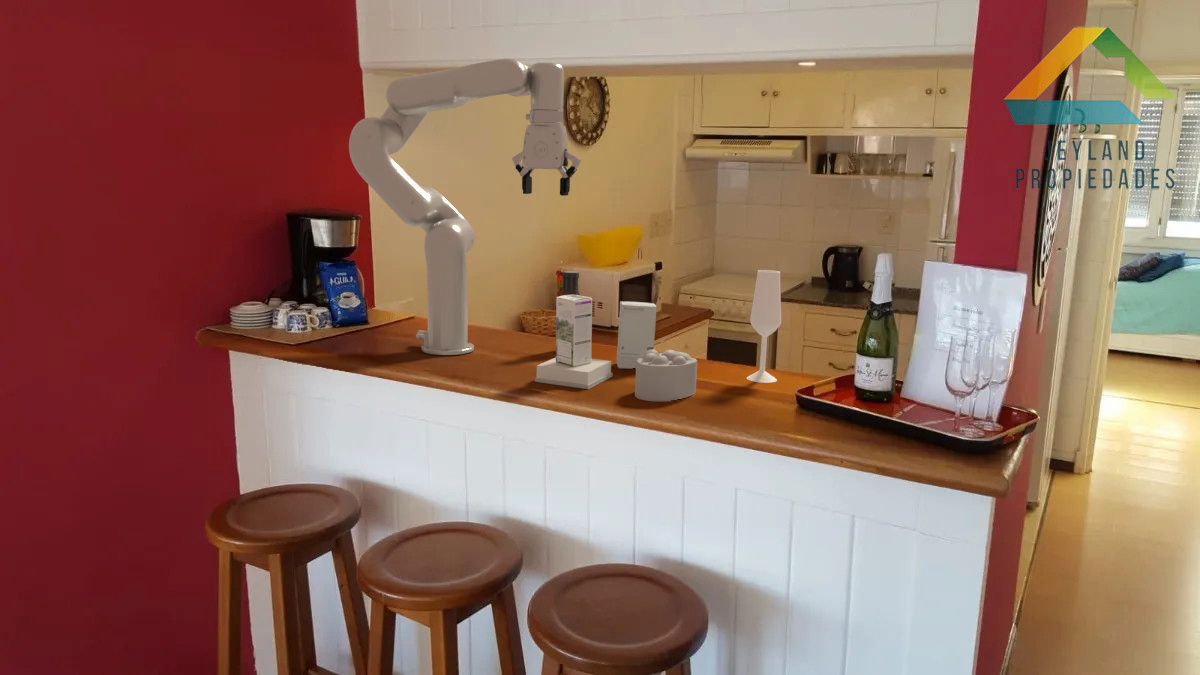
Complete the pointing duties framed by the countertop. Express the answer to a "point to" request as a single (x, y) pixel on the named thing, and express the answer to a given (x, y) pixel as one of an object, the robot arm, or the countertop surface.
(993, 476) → the countertop surface
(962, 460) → the countertop surface
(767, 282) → the champagne flute
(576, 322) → the syrup box
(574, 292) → the sauce bottle
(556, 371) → the cream square tile
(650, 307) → the skincare box
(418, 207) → the robot arm
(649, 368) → the lumpy-topped squat cylinder
